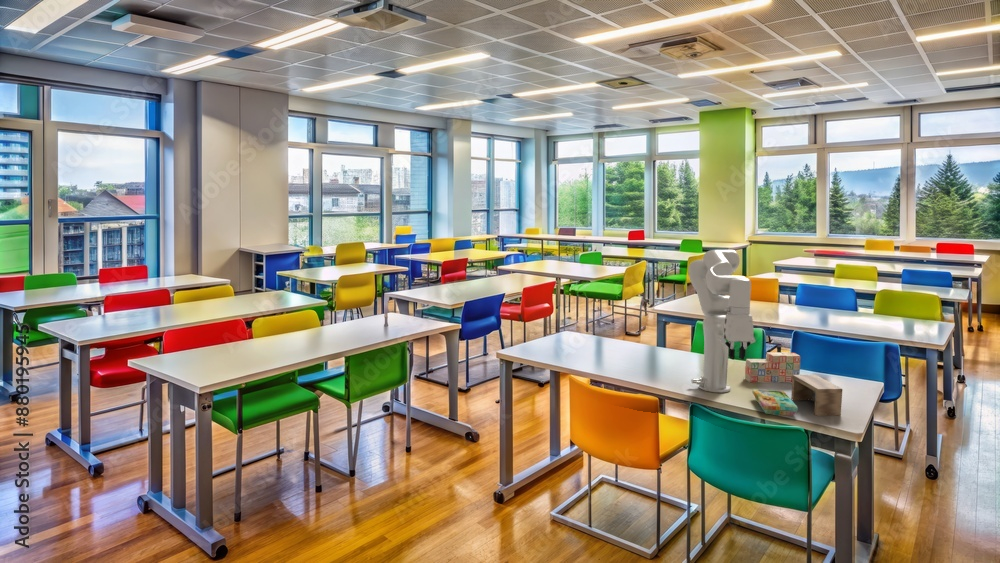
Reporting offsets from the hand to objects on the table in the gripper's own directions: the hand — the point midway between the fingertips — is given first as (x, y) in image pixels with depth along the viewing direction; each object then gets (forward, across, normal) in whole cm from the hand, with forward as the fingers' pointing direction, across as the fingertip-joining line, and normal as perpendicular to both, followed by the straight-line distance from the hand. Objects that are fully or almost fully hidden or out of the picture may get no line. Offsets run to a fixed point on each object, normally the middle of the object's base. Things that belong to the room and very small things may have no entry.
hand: (736, 358), depth 229 cm
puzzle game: (+20, +15, 0) cm, 25 cm away
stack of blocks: (+20, +30, +36) cm, 51 cm away
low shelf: (+19, +31, 0) cm, 36 cm away
